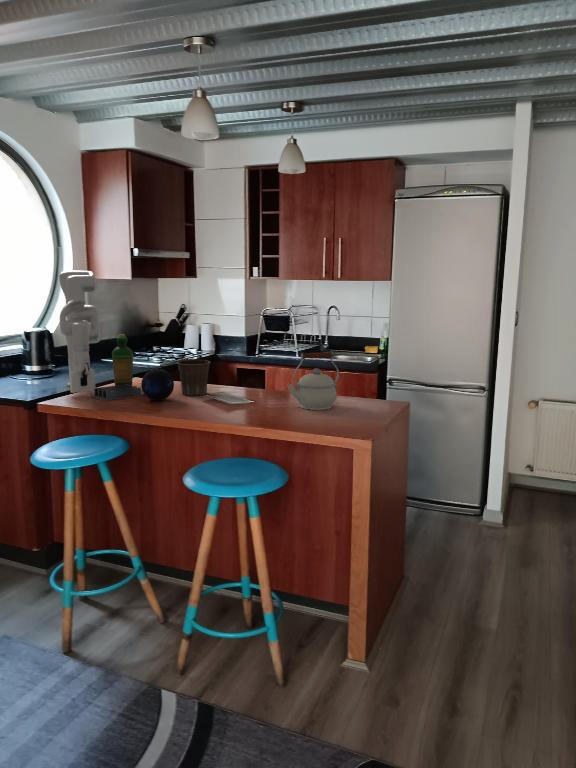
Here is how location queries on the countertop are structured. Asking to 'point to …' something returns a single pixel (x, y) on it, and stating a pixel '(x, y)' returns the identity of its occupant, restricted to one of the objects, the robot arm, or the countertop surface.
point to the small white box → (76, 383)
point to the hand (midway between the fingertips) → (82, 385)
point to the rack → (116, 392)
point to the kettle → (315, 386)
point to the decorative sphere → (157, 384)
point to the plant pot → (193, 376)
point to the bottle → (122, 362)
